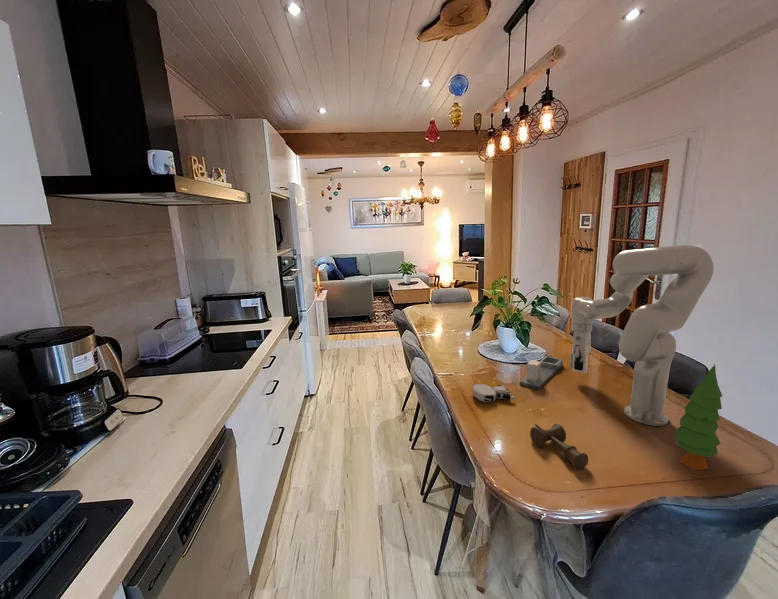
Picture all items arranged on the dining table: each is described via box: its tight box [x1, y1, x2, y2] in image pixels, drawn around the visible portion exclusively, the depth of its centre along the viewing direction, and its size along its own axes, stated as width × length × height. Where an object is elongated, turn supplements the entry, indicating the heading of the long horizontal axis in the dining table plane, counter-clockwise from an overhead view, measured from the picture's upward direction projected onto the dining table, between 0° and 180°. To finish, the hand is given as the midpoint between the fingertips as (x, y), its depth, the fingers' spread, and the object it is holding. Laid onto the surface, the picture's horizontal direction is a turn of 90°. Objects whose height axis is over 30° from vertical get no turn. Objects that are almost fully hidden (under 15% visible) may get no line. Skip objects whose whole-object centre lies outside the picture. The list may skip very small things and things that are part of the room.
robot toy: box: [469, 383, 516, 403], centre depth 140 cm, size 12×4×15 cm
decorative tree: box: [674, 364, 723, 471], centre depth 96 cm, size 10×9×30 cm
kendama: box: [529, 423, 589, 471], centre depth 107 cm, size 6×10×20 cm
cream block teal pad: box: [570, 351, 589, 374], centre depth 149 cm, size 4×6×8 cm
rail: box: [519, 355, 564, 391], centre depth 159 cm, size 32×8×10 cm, turn 138°
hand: (580, 367), depth 149 cm, fingers closed on cream block teal pad, 4 cm apart
